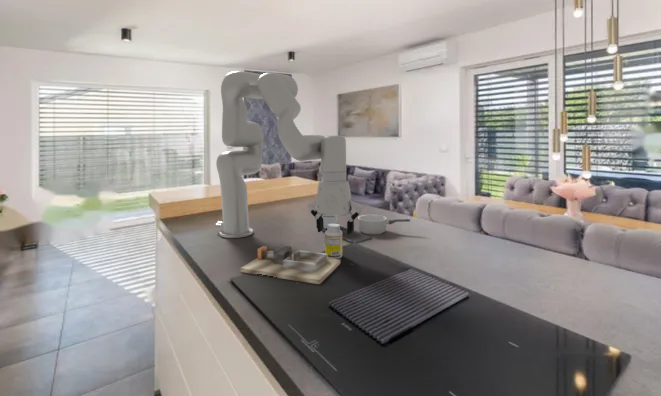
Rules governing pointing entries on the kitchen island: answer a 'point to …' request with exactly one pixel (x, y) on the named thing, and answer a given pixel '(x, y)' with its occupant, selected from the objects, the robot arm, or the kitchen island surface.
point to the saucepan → (375, 223)
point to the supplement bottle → (334, 241)
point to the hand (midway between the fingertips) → (335, 232)
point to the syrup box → (329, 220)
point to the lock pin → (265, 253)
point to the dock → (294, 265)
